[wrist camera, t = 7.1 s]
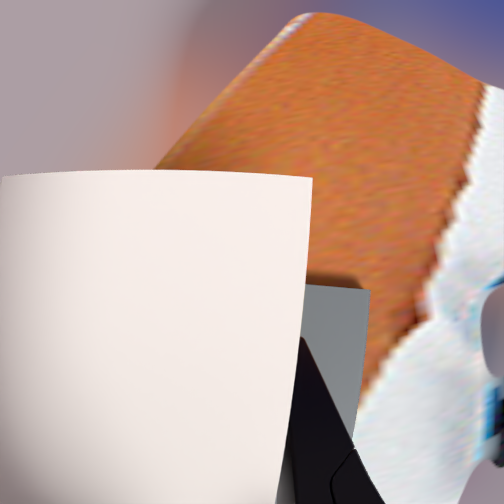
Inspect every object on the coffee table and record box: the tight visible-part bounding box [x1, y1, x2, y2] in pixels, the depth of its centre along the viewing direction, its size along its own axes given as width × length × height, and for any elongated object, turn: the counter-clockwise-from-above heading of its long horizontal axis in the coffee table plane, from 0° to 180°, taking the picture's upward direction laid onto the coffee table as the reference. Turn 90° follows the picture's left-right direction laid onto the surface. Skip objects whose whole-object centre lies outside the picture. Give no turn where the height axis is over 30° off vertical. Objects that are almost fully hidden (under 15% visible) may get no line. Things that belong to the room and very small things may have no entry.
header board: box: [275, 284, 370, 504], centre depth 17 cm, size 15×14×4 cm
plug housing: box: [0, 170, 312, 504], centre depth 8 cm, size 6×4×12 cm, turn 173°
